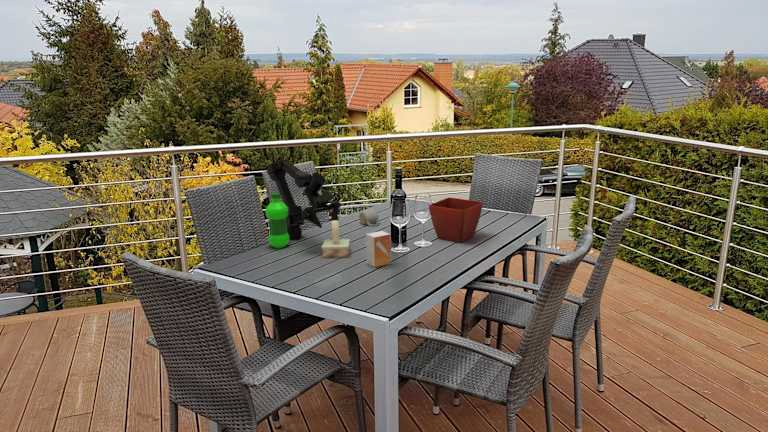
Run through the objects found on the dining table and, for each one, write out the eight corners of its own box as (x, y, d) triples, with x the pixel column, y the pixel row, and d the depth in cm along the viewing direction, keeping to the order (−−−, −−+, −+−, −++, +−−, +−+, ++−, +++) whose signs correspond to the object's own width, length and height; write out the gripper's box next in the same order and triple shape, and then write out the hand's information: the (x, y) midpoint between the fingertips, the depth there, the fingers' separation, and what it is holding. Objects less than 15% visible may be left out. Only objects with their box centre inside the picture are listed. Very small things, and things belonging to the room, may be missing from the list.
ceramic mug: (358, 223, 290) (358, 209, 288) (371, 221, 294) (371, 207, 292) (368, 228, 282) (368, 213, 280) (382, 225, 286) (382, 211, 284)
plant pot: (463, 246, 248) (463, 210, 244) (427, 239, 260) (427, 205, 255) (483, 236, 263) (483, 201, 259) (448, 230, 274) (448, 197, 270)
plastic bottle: (263, 248, 252) (259, 195, 246) (278, 241, 261) (274, 190, 255) (281, 250, 248) (277, 197, 241) (295, 244, 257) (291, 192, 250)
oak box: (322, 257, 237) (322, 249, 236) (325, 249, 248) (325, 241, 247) (348, 257, 237) (347, 248, 236) (349, 249, 248) (349, 240, 247)
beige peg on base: (321, 250, 236) (320, 225, 233) (324, 242, 247) (323, 218, 244) (348, 249, 236) (347, 224, 233) (350, 242, 247) (349, 217, 244)
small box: (374, 267, 223) (373, 237, 220) (366, 263, 228) (365, 233, 225) (391, 263, 228) (390, 233, 224) (382, 259, 233) (382, 230, 229)
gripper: (302, 190, 236) (319, 219, 231) (337, 183, 248) (353, 211, 243) (294, 205, 244) (309, 233, 238) (328, 198, 256) (343, 225, 250)
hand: (329, 225), depth 242 cm, fingers open, 9 cm apart
